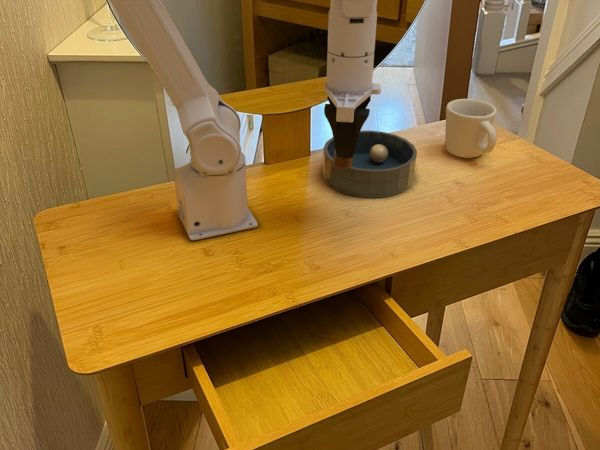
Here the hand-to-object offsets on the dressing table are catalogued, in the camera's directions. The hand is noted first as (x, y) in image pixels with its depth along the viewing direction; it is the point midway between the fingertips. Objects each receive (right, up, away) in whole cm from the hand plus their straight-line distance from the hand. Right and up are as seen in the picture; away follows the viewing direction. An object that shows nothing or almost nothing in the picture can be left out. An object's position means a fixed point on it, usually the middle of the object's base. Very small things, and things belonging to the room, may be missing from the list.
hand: (345, 151), depth 83 cm
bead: (+7, +2, +17) cm, 18 cm away
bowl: (+5, -2, +15) cm, 16 cm away
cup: (+22, +2, +21) cm, 31 cm away
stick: (0, -2, +1) cm, 2 cm away
